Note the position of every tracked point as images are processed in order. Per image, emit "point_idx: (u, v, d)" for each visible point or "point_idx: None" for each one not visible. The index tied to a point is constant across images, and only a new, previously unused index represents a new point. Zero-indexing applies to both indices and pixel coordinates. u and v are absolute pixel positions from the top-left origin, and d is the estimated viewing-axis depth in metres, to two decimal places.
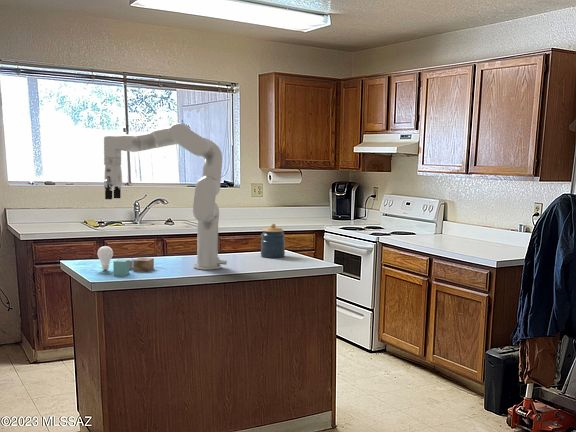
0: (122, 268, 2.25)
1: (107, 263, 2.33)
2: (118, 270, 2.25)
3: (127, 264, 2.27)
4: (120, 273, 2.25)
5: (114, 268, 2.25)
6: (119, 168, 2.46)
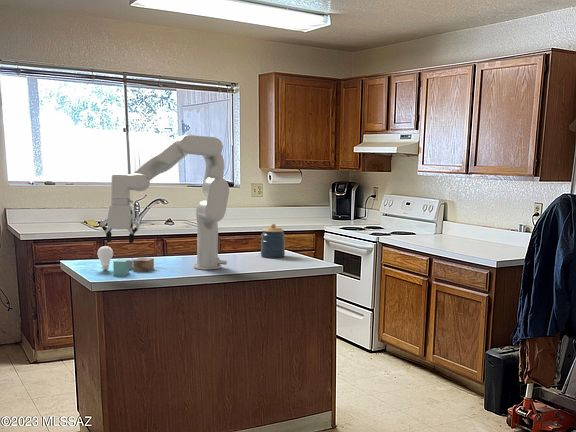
0: (122, 268, 2.25)
1: (107, 263, 2.33)
2: (118, 270, 2.25)
3: (127, 264, 2.27)
4: (120, 273, 2.25)
5: (114, 268, 2.25)
6: None
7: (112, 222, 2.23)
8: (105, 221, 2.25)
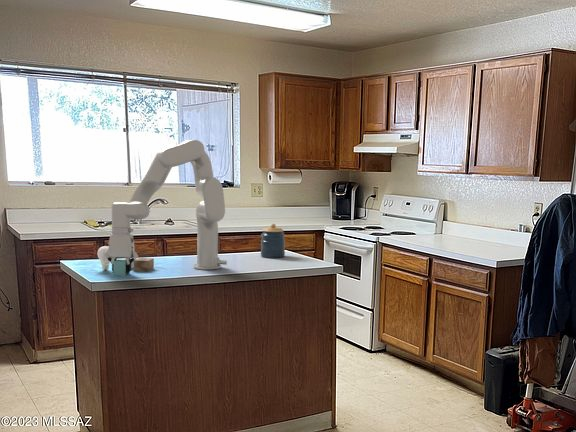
0: (122, 268, 2.25)
1: (107, 263, 2.33)
2: (118, 270, 2.25)
3: None
4: (120, 273, 2.25)
5: (114, 268, 2.25)
6: None
7: (113, 251, 2.24)
8: (108, 252, 2.26)
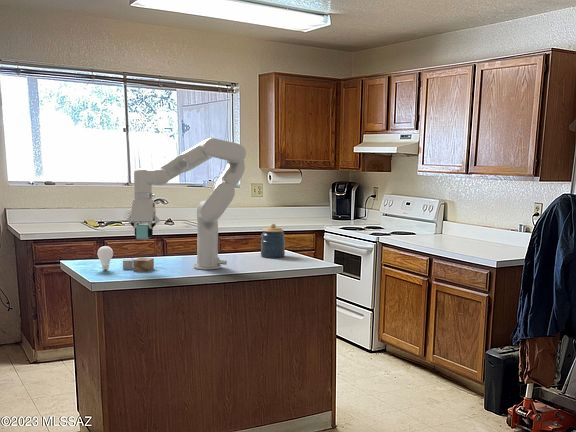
0: (145, 232, 2.34)
1: (107, 263, 2.33)
2: (141, 234, 2.34)
3: None
4: (143, 237, 2.34)
5: (137, 232, 2.34)
6: None
7: (136, 215, 2.34)
8: None
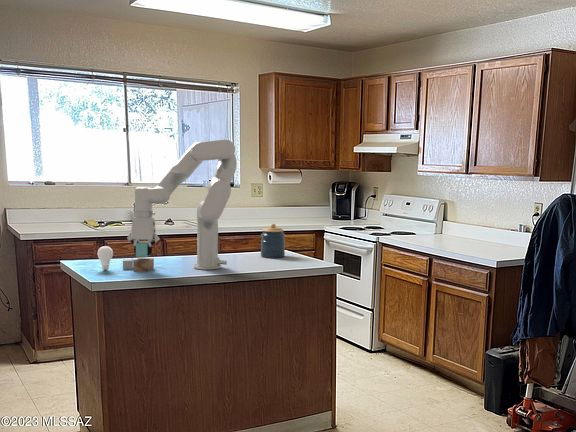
0: (144, 250, 2.34)
1: (107, 263, 2.33)
2: (140, 252, 2.35)
3: None
4: (142, 254, 2.35)
5: (136, 250, 2.35)
6: None
7: (136, 233, 2.34)
8: None
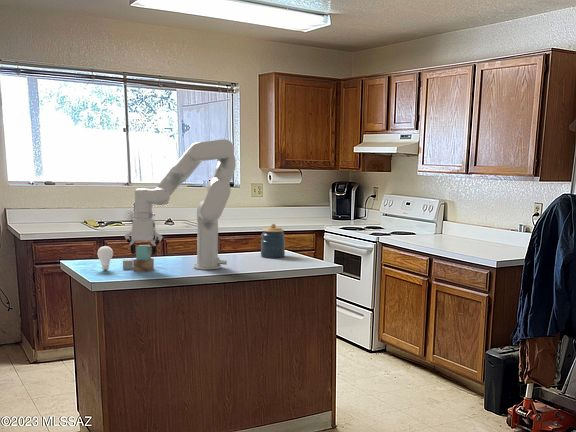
0: (145, 253, 2.35)
1: (107, 263, 2.33)
2: (141, 255, 2.35)
3: (149, 249, 2.38)
4: (143, 258, 2.35)
5: (137, 253, 2.35)
6: None
7: (136, 235, 2.34)
8: (129, 234, 2.36)
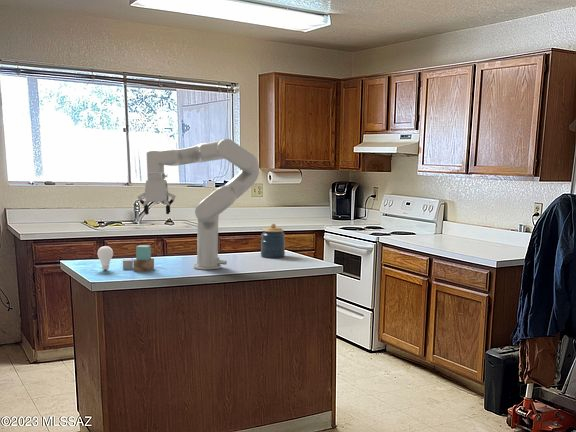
0: (145, 253, 2.35)
1: (107, 263, 2.33)
2: (141, 255, 2.35)
3: (149, 249, 2.37)
4: (142, 258, 2.35)
5: (137, 253, 2.35)
6: None
7: (149, 195, 2.40)
8: (142, 195, 2.42)
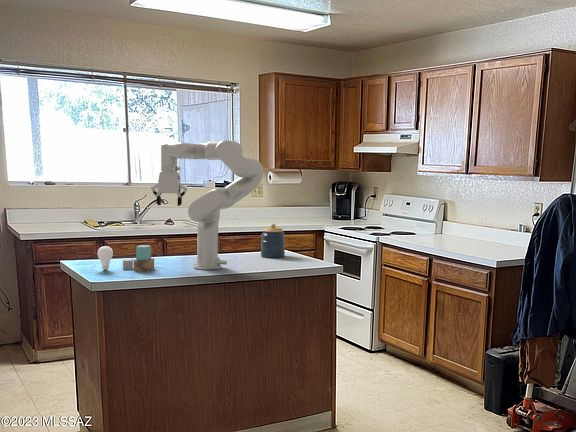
0: (145, 253, 2.35)
1: (107, 263, 2.33)
2: (140, 255, 2.35)
3: (149, 250, 2.37)
4: (142, 258, 2.35)
5: (137, 253, 2.35)
6: None
7: (162, 187, 2.48)
8: (155, 186, 2.50)
